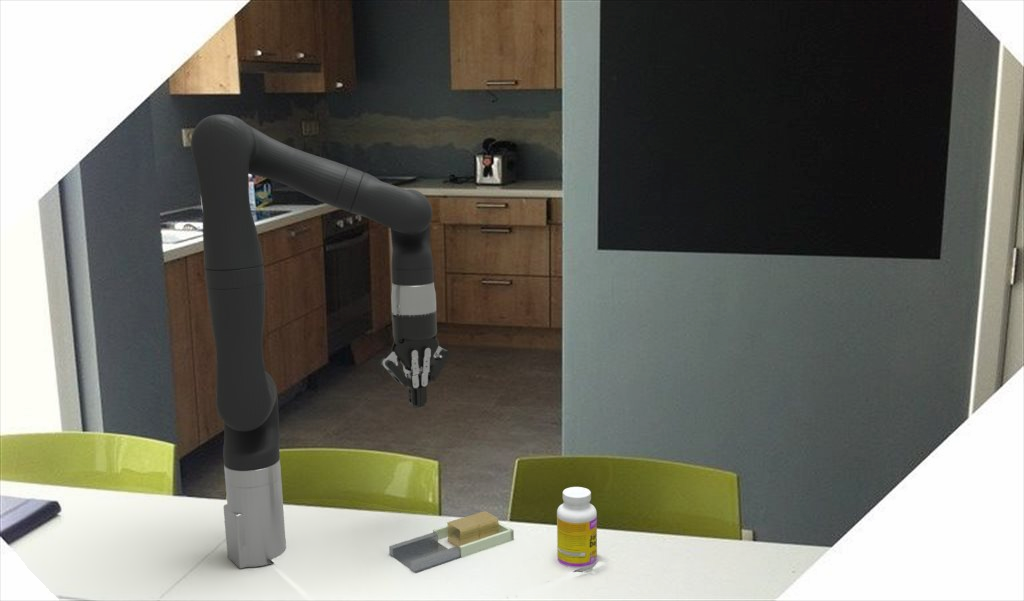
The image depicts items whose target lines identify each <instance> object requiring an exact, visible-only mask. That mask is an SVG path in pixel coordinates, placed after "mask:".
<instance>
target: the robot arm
mask: <svg viewBox="0 0 1024 601" xmlns="http://www.w3.org/2000/svg"><path fill="white" fill-rule="evenodd" d="M193 129H194V130H193V132H192V133H191V140H190V149H191V156H192V160H193V164H194V168H195V173H196V177H197V178H196V179H197V182H198V188H199V193H200V200H201V207H202V208H201V209H202V239H203V241H202V243H203V244H202V246H203V261H204V262H203V264H204V275H205V286H206V294H207V300H208V301H207V302H208V307H209V313H210V322H211V327H212V332H213V337H214V343H215V352H216V355H215V356H216V357H215V358H216V387H215V389H216V390H215V391H216V392H215V406H216V407H215V408H216V411H217V414H218V415H219V417H220V420H222V421H223V430H224V435H223V436H224V437H223V447H222V457H223V465H224V467H223V468H224V469H223V470H224V479H225V493H226V504H224V505H223V516H224V517H223V518H224V527H225V528H224V529H225V531H224V532H225V540H226V541H225V542H226V553H227V554H226V555H227V557H228V559H229V560H231V561H232V562H233V563H234V564H235V565H236V566H237V567H238V568H239V569H245V568H256V567H264V566H267V565H271V564H274V562H275V561H274V562H273V561H272V560H273V559H276V558H277V557H279V556H281V555H283V554H284V553H285V551H286V549H287V539H286V538H287V537H286V527H285V526H286V525H285V516H284V515H285V514H284V513H285V512H284V500H283V499H284V498H283V486H282V485H283V484H282V473H281V472H282V471H281V470H282V469H281V459H280V458H281V456H280V441H281V440H280V438H281V434H280V432H281V430H280V417H279V416H280V413H279V399H278V398H279V397H278V389H277V385H276V383H275V380H274V379H273V377H272V375H270V373H269V372H267V371H266V367H265V360H264V354H263V334H264V324H265V315H266V314H265V312H266V311H265V310H266V279H265V277H266V276H265V267H264V266H265V264H264V256H263V251H262V247H261V243H260V242H261V241H260V238H259V234H258V229H257V228H256V227H257V226H256V223H255V221H254V217H253V214H252V210H251V209H252V208H251V202H250V188H249V185H250V183H249V182H250V180H249V177H250V176H249V175H252V176H258V177H262V178H265V179H269V180H271V181H275V182H277V183H280V184H282V185H285V186H287V187H289V188H291V189H293V190H296V191H297V192H299V193H301V194H304V195H306V196H308V197H310V198H312V199H315V200H317V201H319V202H321V203H323V204H326V205H329V206H330V207H334V208H336V209H339V210H342V211H345V212H347V213H350V214H354V215H357V216H360V217H361V216H362V217H364V218H366V219H369V220H371V221H373V222H376V223H378V224H380V225H382V226H385V227H386V228H389V229H390V236H391V244H392V245H391V246H392V247H391V249H392V251H391V252H392V253H391V294H390V296H391V300H390V301H391V320H392V321H391V322H392V337H393V343H392V346H391V352H390V354H388V356H387V357H386V358H385V357H383V358H381V359H380V365H381V366H383V368H384V369H385V370H386V371H387V372H388V374H390V376H391V377H392V379H394V380H395V382H396V383H398V384H399V385H402V386H403V387H407V394H408V398H407V400H408V403H409V405H410V406H411V407H412V408H414V409H421V408H424V407H425V404H427V401H428V394H427V393H428V392H427V385H428V384H429V383H431V382H435V381H436V380H437V378H438V376H439V375H440V374H441V371H442V369H443V368H444V366H445V365H446V363H447V361H448V359H449V357H450V356H451V352H450V351H449V350H447V349H445V348H442V347H441V346H440V342H439V340H438V338H437V333H438V325H437V324H438V323H437V293H436V289H435V281H434V280H435V276H434V275H435V272H434V258H433V254H432V250H431V222H432V219H433V209H432V208H433V207H432V205H431V204H430V201H429V199H428V198H427V196H425V194H423V193H422V192H420V191H419V190H415V189H405V188H404V187H403V188H402V187H400V186H396V185H394V184H391V183H387V182H384V181H381V180H380V179H379V178H377V177H375V176H374V175H372V174H369V173H367V172H364V171H362V170H359V169H356V168H354V167H351V166H348V165H346V164H343V163H340V162H337V161H334V160H331V159H329V158H326V157H325V158H324V157H321V156H317V155H315V154H312V153H308V152H306V151H303V150H300V149H297V148H294V147H293V146H289V145H288V144H285V143H283V142H280V141H278V140H277V139H274V138H272V137H270V136H268V135H267V134H265V133H263V132H261V131H260V130H258V129H256V128H254V127H252V126H251V125H249V124H247V123H246V122H245V121H244V120H242V119H241V118H240V117H237V116H234V115H231V114H212V115H209V116H206V117H205V118H203V119H202V120H200V121H199V123H197V124H196V126H195V128H193ZM398 361H399V362H398ZM399 363H400V364H401V365H402V368H403V372H402V371H401V369H400V368H399V367H398V366H399Z"/></svg>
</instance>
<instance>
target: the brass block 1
mask: <svg viewBox="0 0 1024 601" xmlns="http://www.w3.org/2000/svg"><path fill="white" fill-rule="evenodd" d="M447 525H448V537H447V542H449V543H450V544H452V545H453V546H454V547H455V546H457V547H459V546H462V545H465V544H468V543H471V542H474V541H477V540H480V537H479V523H477V522H475V521H473V520H472V519H470V518H468V517H467V516H464V517H459V518H456V519H454V520H451V521H447ZM447 525H446V526H447Z"/></svg>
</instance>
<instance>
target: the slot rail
mask: <svg viewBox="0 0 1024 601" xmlns="http://www.w3.org/2000/svg"><path fill="white" fill-rule="evenodd" d="M388 548H389V549H388V550H389V553H388V555H389V556H390V557H392V558H394V559H395V560H396V561H398V562H399V563H400V564H402V565H403V566H404V567H406V568H407V569H408V570H410V571H411V572H413V573H414V574H418V573H421V572H425V571H427V570H430V569H432V568H436V567H439V566H442V565H445V564H448V563H450V562H453V561H455V560H459V559H462V558H463V557H461V555H460V548H459V547H457V546H455V545H454V546H452V547H450V548H448V547H446V546H445V545H443V544H441V543H440V542H439V540H438V534H436V533H435V532H433V531H432V532H430V533H425V534H424V535H420V536H417V537H414V538H411V539H408V540H404V541H402V542H399V543H395V544H391V545H389V546H388Z"/></svg>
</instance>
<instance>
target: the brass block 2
mask: <svg viewBox="0 0 1024 601" xmlns="http://www.w3.org/2000/svg"><path fill="white" fill-rule="evenodd" d="M467 517H468V518H470V519H472V520H473V521H475V522H477V523H479V537H480V539H483V538H486V537H489V536H492V535H495V534H498V533H499V529H498V522H499V517H497V516H495V515H493V514H491V513H490V512H487V511H486V510H484V511H480V512H476V513H474V514H471V515H468V516H467Z"/></svg>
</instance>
